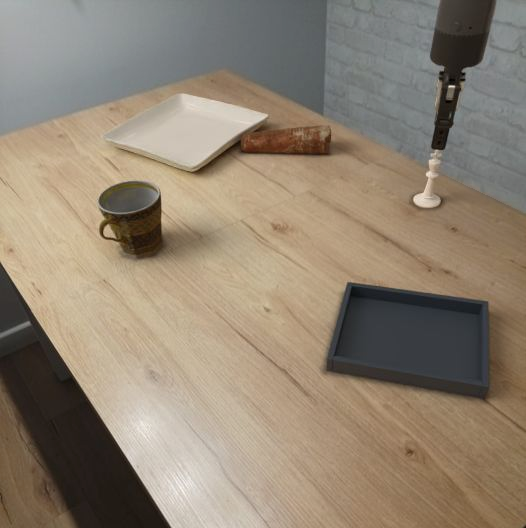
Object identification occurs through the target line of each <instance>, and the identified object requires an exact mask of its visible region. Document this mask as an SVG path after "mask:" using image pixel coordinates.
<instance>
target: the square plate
mask: <svg viewBox="0 0 526 528" xmlns="http://www.w3.org/2000/svg"><path fill="white" fill-rule="evenodd" d="M269 117H270V114H268V113H264V112H261V111H258V110H254V109H250V108H247V107H244V106H240V105H236V104H231V103H227V102H223V101H219V100H215V99H211V98H207V97H201V96H198V95H192V94H187V93H182V92H180V93H177V94H176V93H175V94H174V95H172V96H170V97H168V98H166V99H164V100H162V101H160V102H158V103H157V104H154V105H152V106H150V107H149V108H147V109H145V110H143V111H141V112H139V113H137V114H136V115H134V116H132V117H130V118H129V119H127V120H125V121H123V122H122V123H120V124H118V125H117V126H115V127H113V128H110V130H108V131H106V132H104V133H102V134H101V135H100V136H99V138H100V140H102V141H104V142H105V143H107V144H109V145H111V146H113V147H116V148H119V149H122V150H124V151H128V152H131V153H135V154H137V155H139V156H144V157H146V158H149V159H152V160H155V161H158V162H160V163H162V164H165V165H168V166H171V167H174V168H177V169H180V170H182V171H187V172H192V173H193V172H196V171H199V170H200V169H201V168H203V167H204V166H206V165H208V164H209V163H210V162H211V161H213V160H214V159H215V158H217V157H218V156H220V155H221V154H222V153H224V152H225V151H227V150H228V149H230V148H231V147H232V146H233V145H235V144H237V143H238V142H241V139H242V137H243V135H244V134H246V133H253V132H256V130H258V129H259V128H261V126H263V125H264V124H265V123H266V122H267V120H268V119H269Z"/></svg>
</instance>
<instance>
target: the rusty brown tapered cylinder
mask: <svg viewBox="0 0 526 528" xmlns="http://www.w3.org/2000/svg"><path fill="white" fill-rule="evenodd" d="M331 140H332V129H331V126H330V125H329V124H328V125H327V124H325V125H324V124H323V125H321V124H320V125H310V126H309V125H306V126H297V127H287V128H286V127H285V128H277V129H269V130H261V131H254V132H252V133H246V134H244V135H243V137H242V139H241V140H240V148H241V150H242V151H243V153H256V154H258V153H260V154H308V155H322V154H327V153H328V152H329V146H330V144H331V142H332V141H331Z"/></svg>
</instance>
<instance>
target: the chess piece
mask: <svg viewBox="0 0 526 528" xmlns="http://www.w3.org/2000/svg"><path fill="white" fill-rule="evenodd" d="M442 156H443V153H441V152H440V150H435V151H434V152H432V153H431V152H430V159H429V160H428V167H429V168H428V169H429V170H428V171H426V173H425V176H426V177H427V178H428V179H427V182H426V185H425V188H424V191H423V192H420V193H417V194H416V195H414V197H413V200H412V201H413V203H414V204H415V205H416V206H417V207H420V208H422V209H434V208H436V207H439V206H440V205H441V201H442V200H441V198H440V197H439V196H438V195H437V194H435V193H434V187H435V179H436V178H438V177H439V176H440V175H439V172H438V169H439V167H440V166H441V164H442V161H441V160H440V158H441V157H442Z"/></svg>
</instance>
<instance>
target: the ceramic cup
mask: <svg viewBox="0 0 526 528" xmlns="http://www.w3.org/2000/svg"><path fill="white" fill-rule="evenodd" d="M96 204H97V207H98V209H99V212H100V213H101V215H102V217H103V218H104V219H102V220H101V222H100V224H99V226H98V233H99V236H100V237H101V238H102V239H103V240H107V241H113V242H116V243H118V244H119V246H120V248H121V250H122V252H123V254H124V256H125V257H126V256H127V257H129V258H133V259H137V260H138V259H143V258H147V257H152V256H154V255H155V254H156V253H158V251H160V249H161V248H162V247H163V230H162V229H163V227H162V216H163V215H162V211H163V210H162V193H161V190H160V188H159V186H157V185H156V184H155V183H153V182H150V181H147V180H142V179H141V180H140V179H138V180H137V179H135V180H126V181H122V182H121V181H120V182H118V183H115V184H113V185H110V186H109V187H107V188H106V189H104V190H103V191H102V192H101V193H100V194H99V195H98V197H97V199H96ZM107 226H108V227H109V229H110V230H111V231H112V234H113V235H114V236H115V237H110V236H109V237H108V236H105V233H104V232H105V231H104V230H105V228H106V227H107Z"/></svg>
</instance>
